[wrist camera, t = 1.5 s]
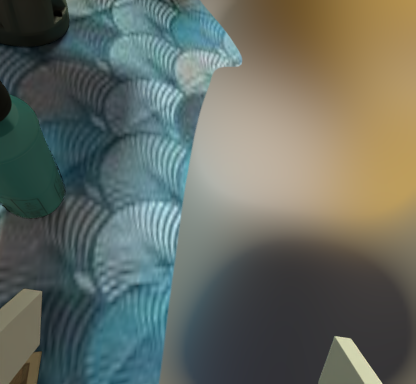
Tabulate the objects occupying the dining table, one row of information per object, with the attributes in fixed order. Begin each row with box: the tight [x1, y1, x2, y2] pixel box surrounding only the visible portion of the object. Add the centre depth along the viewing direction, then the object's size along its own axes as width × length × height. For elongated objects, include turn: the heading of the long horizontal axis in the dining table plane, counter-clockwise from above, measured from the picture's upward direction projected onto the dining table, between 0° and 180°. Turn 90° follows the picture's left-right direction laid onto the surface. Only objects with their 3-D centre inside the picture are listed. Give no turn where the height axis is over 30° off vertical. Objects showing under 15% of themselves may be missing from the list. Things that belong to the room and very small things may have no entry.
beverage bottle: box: [0, 81, 66, 219], centre depth 23 cm, size 6×7×20 cm
